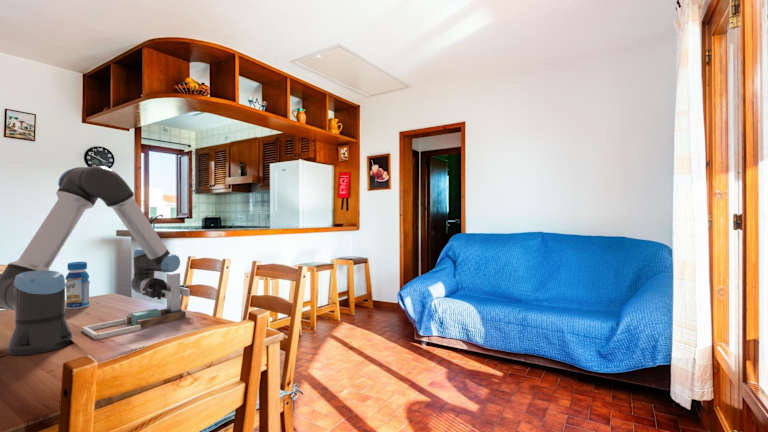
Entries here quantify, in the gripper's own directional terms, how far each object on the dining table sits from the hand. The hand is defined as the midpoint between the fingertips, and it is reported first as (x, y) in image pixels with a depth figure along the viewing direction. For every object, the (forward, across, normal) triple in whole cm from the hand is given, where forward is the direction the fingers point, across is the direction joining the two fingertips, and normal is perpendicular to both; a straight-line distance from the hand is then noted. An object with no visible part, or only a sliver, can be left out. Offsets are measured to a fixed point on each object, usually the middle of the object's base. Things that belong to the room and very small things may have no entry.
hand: (179, 294), depth 143 cm
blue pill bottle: (-62, +16, -11) cm, 65 cm away
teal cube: (-5, +12, -10) cm, 16 cm away
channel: (-5, +6, -11) cm, 14 cm away
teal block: (-5, +8, -10) cm, 13 cm away
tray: (-5, +20, -11) cm, 24 cm away
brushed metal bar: (-5, 0, -10) cm, 11 cm away
